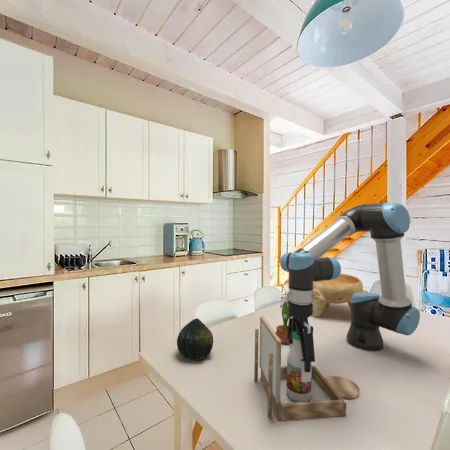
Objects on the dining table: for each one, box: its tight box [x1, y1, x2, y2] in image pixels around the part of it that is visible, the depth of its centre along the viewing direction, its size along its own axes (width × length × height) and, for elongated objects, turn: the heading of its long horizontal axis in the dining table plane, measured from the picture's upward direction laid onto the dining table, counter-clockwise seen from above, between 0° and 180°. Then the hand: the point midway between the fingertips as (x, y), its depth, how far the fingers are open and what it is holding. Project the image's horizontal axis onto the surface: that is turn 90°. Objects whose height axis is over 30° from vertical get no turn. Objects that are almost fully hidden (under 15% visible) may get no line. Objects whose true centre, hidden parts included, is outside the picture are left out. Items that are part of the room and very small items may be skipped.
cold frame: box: [260, 364, 347, 421], centre depth 85 cm, size 20×20×4 cm
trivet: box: [324, 375, 361, 400], centre depth 89 cm, size 11×11×1 cm
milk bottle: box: [286, 331, 313, 403], centre depth 85 cm, size 8×8×20 cm
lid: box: [258, 315, 282, 405], centre depth 84 cm, size 1×20×18 cm, turn 7°
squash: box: [176, 317, 214, 361], centre depth 110 cm, size 14×15×15 cm
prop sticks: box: [253, 328, 273, 419], centre depth 83 cm, size 1×18×18 cm, turn 6°
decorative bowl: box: [311, 273, 370, 318], centre depth 164 cm, size 34×35×23 cm
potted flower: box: [274, 288, 290, 345], centre depth 123 cm, size 12×10×25 cm
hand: (299, 371), depth 85 cm, fingers open, 9 cm apart
